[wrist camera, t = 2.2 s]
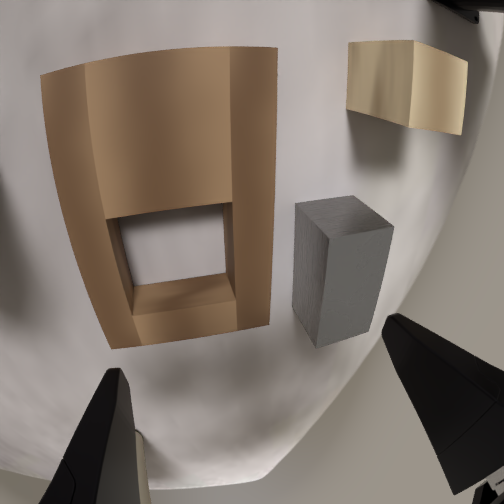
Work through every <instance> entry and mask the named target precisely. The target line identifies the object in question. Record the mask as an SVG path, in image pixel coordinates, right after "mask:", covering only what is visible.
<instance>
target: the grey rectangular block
mask: <svg viewBox="0 0 504 504" xmlns="http://www.w3.org/2000/svg"><path fill="white" fill-rule="evenodd" d="M393 230H394V226H393V225H392V224H390V223H389V222H388V221H387V220H385V219H384V218H383V217H381V216H380V215H379V214H377V213H376V212H375V211H374V210H372V209H371V208H370V207H368V206H367V205H366V204H364V203H363V202H362V201H360V200H359V199H357V198H356V197H355V196H353V195H352V196H344V197H337V198H329V199H321V200H314V201H307V202H300V203H295V239H294V270H293V294H292V307H293V308H294V310H295V312H296V314H297V316H298V317H299V319H300V321H301V323H302V325H303V326H304V328H305V330H306V332H307V334H308V335H309V337H310V339H311V341H312V343H313V344H314V346H315V348H319V347H322V346H326V345H329V344H332V343H335V342H338V341H342V340H345V339H348V338H351V337H354V336H357V335H360V334H363V333H366V332H368V331H369V328H370V325H371V322H372V318H373V315H374V311H375V307H376V304H377V300H378V296H379V292H380V289H381V285H382V281H383V276H384V272H385V268H386V264H387V259H388V255H389V250H390V245H391V240H392V235H393Z"/></svg>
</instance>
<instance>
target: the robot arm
mask: <svg viewBox="0 0 504 504" xmlns="http://www.w3.org/2000/svg"><path fill="white" fill-rule="evenodd" d="M431 1H433V2H435V3H437V4H439V5H441V6H443V7H445V8H447V9H449V10H451V11H452V12H454V13H456V14H458V15H460V16H461V17H463V18H465V19H467V20H468V21H470V22H472V23H474V24H478V23H479V11H485V12H499V13H504V0H431ZM382 338H383V340H384V343H385V345H386V348H387V350H388V353H389V355H390V358H391V360H392V363H393V365H394V368H395V370H396V372H397V374H398V376H399V378H400V380H401V382H402V384H403V386H404V388H405V390H406V392H407V394H408V396H409V398H410V400H411V402H412V404H413V406H414V408H415V410H416V412H417V414H418V416H419V418H420V420H421V422H422V425H423V427H424V429H425V431H426V433H427V435H428V437H429V440H430V442H431V444H432V446H433V448H434V450H435V453H436V455H437V458H438V460H439V462H440V464H441V467H442V469H443V471H444V474H445V476H446V478H447V481H448V483H449V486H450V488H451V490H452V493H453V495H456V494H458V493H460V492H462V491H464V490H465V489H467V488H469V487H471V486H473V485H474V484H476V483H477V482H479V481H481V480H483V479H484V478H486V481H484V482H483V483H482V484H481V485H480V486H479V487H477V488H476V490H475V494H474V498H473V502H472V504H504V371H502V370H500V369H499V368H497V367H494V366H492V365H490V364H489V363H487V362H485V361H483V360H481V359H480V358H478V357H476V356H474V355H472V354H471V353H469V352H467V351H465V350H464V349H462V348H460V347H458V346H456V345H455V344H453V343H451V342H450V341H448V340H446V339H444V338H442V337H441V336H439V335H437V334H435V333H434V332H432V331H430V330H428V329H426V328H425V327H423V326H421V325H419V324H417V323H415V322H414V321H412V320H410V319H409V318H407V317H405V316H403V315H401V314H399V313H395V314H391V315H389V316H388V317H387V319H386V321H385V324H384V326H383V329H382ZM39 504H141V503H140V493H139V482H138V469H137V452H136V433H135V424H134V418H133V410H132V403H131V395H130V387H129V383H128V381H127V379H126V377H125V375H124V373H123V371H122V370H121V369H120V368H110V369H108V370H107V371H106V373H105V374H104V376H103V378H102V380H101V382H100V384H99V386H98V388H97V389H96V391H95V393H94V395H93V397H92V399H91V401H90V403H89V405H88V407H87V409H86V411H85V413H84V415H83V417H82V419H81V421H80V423H79V425H78V427H77V429H76V431H75V433H74V435H73V437H72V439H71V441H70V443H69V445H68V447H67V449H66V452H65V454H64V456H63V459H62V460H61V462H60V464H59V467H58V469H57V471H56V473H55V475H54V477H53V479H52V481H51V483H50V485H49V487H48V488H47V490H46V492H45V494H44V495H43V497H42V499H41V500H40V502H39Z"/></svg>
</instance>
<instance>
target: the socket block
mask: <svg viewBox="0 0 504 504" xmlns="http://www.w3.org/2000/svg"><path fill="white" fill-rule="evenodd" d="M277 60H278V48H272V47H238V46H232V47H197V48H182V49H171V50H161V51H152V52H144V53H137V54H131V55H124V56H119V57H113V58H108V59H103V60H98V61H93V62H89V63H84V64H80V65H76V66H72V67H68V68H64V69H61V70H57V71H54V72H50V73H47V74H44V75H40V78H41V92H42V103H43V112H44V120H45V128H46V135H47V141H48V148H49V153H50V159H51V164H52V169H53V174H54V179H55V184H56V188H57V193H58V197H59V201H60V205H61V209H62V213H63V217H64V221H65V224H66V228H67V231H68V235H69V238H70V242H71V245H72V248H73V252H74V255H75V258H76V261H77V264H78V267H79V270H80V273H81V276H82V278H83V281H84V284H85V287H86V290H87V292H88V295H89V298H90V300H91V303H92V305H93V308H94V310H95V313H96V315H97V318H98V320H99V323H100V325H101V327H102V330H103V332H104V334H105V337H106V339H107V341H108V343H109V345H110V348H111V349H119V348H128V347H136V346H144V345H152V344H159V343H166V342H173V341H180V340H186V339H193V338H199V337H205V336H211V335H217V334H223V333H228V332H234V331H239V330H245V329H250V328H255V327H260V326H265V325H269V320H270V300H271V278H272V255H273V230H274V202H275V169H276V128H277ZM217 203H223V222H224V242H225V260H226V273H221V274H215V275H208V276H201V277H195V278H188V279H181V280H175V281H168V282H161V283H154V284H147V285H140V286H133V282H132V278H131V274H130V271H129V267H128V263H127V259H126V255H125V250H124V246H123V242H122V237H121V233H120V228H119V224H118V219H117V217H123V216H129V215H136V214H142V213H149V212H156V211H163V210H170V209H178V208H185V207H193V206H201V205H209V204H217Z"/></svg>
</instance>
